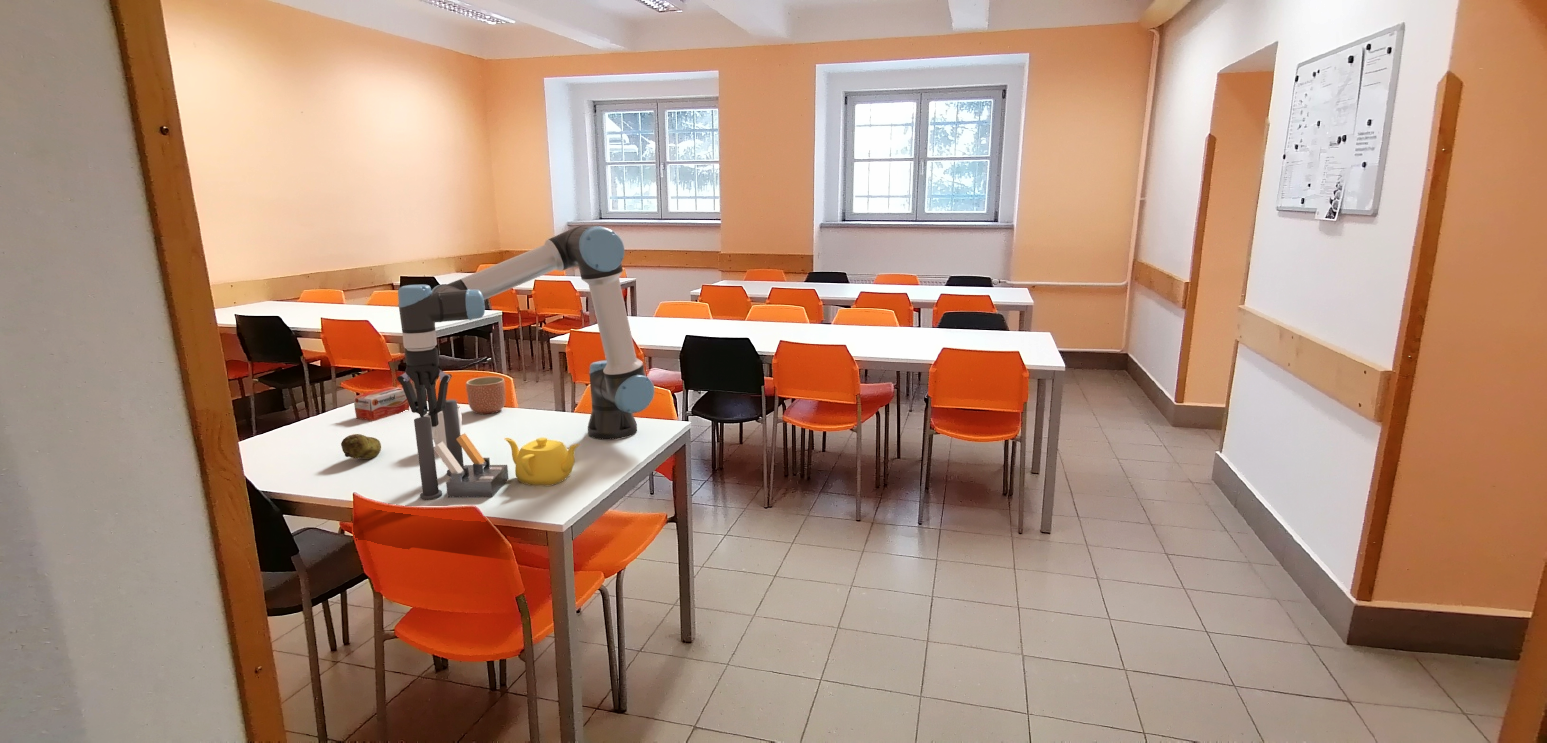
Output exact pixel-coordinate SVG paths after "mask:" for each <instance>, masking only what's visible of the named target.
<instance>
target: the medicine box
mask: <svg viewBox="0 0 1547 743" xmlns="http://www.w3.org/2000/svg"><path fill="white" fill-rule="evenodd" d="M353 405H354V412H355V418H356V419H357V420H365V421H369V422H375V421H378V420H382V419H385V418H388V417H391V416H395V415H397V414H402V413H404V412H403V411H405V410H408V411H410V406H409V403H408V401H407V398H406V395H405V393H404V390H403V387H397V386H388V387H383V388H379V389H376V390H373V391H368V392H365V393H362V394H359V395H358V394H357V395H355V396H353ZM401 412H402V413H401ZM405 412H406V411H405Z"/></svg>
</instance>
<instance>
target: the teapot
mask: <svg viewBox="0 0 1547 743" xmlns="http://www.w3.org/2000/svg"><path fill="white" fill-rule="evenodd" d="M504 440H505V441H506V442H507V443H508V444H509V445H510V449H511V456H512V461H513V463H514V465H515V468H514V469H515V471H514V473H515V477H516V479H517V480H518V481H519V482H520V484H521V483H522V484H524V483H525V485H529V484H530V486H538V485H548V486H553V485H552V484H555V485H557V484H556V483H558V484H560V483H562V482H563V481H564V480H566V479H567V478H568V477H570V475H571V473H572V470H573V467H574V465H575V451H576V449H577V447H579V446H580V443H577V444H576V443H575V444H572V445H570V446H569V448H567V447H566V445H565V444H564V442H562V441H559V440H554V439H548V438H547V437H539V438H536V439H535V440H532V441H529V442H528V443H526V444H524V445H523V446H521V447H520V449H519V446H518V444H517V442H516V440H514V439H512V438H508V437H504ZM565 478H566V479H565ZM562 480H563V481H562ZM559 482H560V483H559Z"/></svg>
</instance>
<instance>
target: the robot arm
mask: <svg viewBox="0 0 1547 743" xmlns="http://www.w3.org/2000/svg"><path fill="white" fill-rule="evenodd" d="M625 253H626V252H625V245H624V243H623V240H622V239H621V237H620V236H619V235H618V234H617V232H615V231H614V230H612V229H610V228H607V227H605V226H600V225H596V226H595V225H578V226H575V227H572V228H570V229H568V230H565V231H563V232H561V233H559V234H557V235H555V236H552V237H551V238H547V239H546V240H545V241H544V244H543V245H540V246H538V247H536V248H533V249H531V250H528V251H526V252H524V253H521V254H518V255H516V256H513V257H511V258H508V259H506V260H504V261H501V262H498V263H497V264H494V265H491V266H488V267H486V268H483V269H481V270H479V271H477V272H473V273H471V274H469V275H467V276H464V277H462V278H459V279H458V280H455V281H452V282H449V283H442V284H438V285H436V286H434V287H433V288H431V286H430V285H428V284H408V285H407V284H406V285H403V286H400V287H399V289H398V290H397V297H398V299H397V300H398V310H399V316H400V317H399V319H400V325H401V333H402V342H403V348H404V350H405V351H404V357H405V358H404V359H405V364H406V368H405V370H404V371H405V372H403V374H401V375H398V376H397V377H396V380H397V382H398V383H399V384H400V385H401V386H402V387H401V388H403V390H404V393H405V395H406V398H407V401H408V403H409V409H410V411H411V412H412V414H414V413H415V414H418V415H419V417H430V421H431V429H432V438H433V440H434V439H435V438H436V437H437V434H436V426H437V425H438V424H439V422H438V412H441V411H442V410H444V409H445V403H446V400H447V395H448V388H449V383H450V381H451V379H452V374H451V373H446V372H444V371H443V370H442V367H441V365H440V357H439V348H438V347H436V346H437V345H438V341H437V333H436V323H443V322H454V321H466V320H469V321H471V320H476V319H477V320H478V319H481V318H483V317H484V316H485V312H486V305H485V300H488V299H489V298H491V297H494V296H495V297H496V296H497V295H500V294H502V293H504V292H506V291H509V290H511V289H513V288H515V287H518V286H520V285H523V284H525V283H528V282H531V281H532V280H533V281H534V280H535V279H537V278H540V277H541V276H544V275H547V274H549V273H552V272H553V271H559V272H563V271H565V270H568V269H572V268H578V271H579V274H580V279H581V280H582V281H583V282H585V283H587V285H588V288H589V292H590V297H591V300H592V306H593V308H594V313H595V318H596V322H597V327H598V331H599V335H600V339H601V343H602V348H603V353H604V357H605V360H599V361H593V362H592V363H590V365H589V373H588V375H589V383H590V384H589V385H590V397H591V398H590V399H591V400H590V401H591V413H590V417H589V421H588V424H587V435H588V436H589V437H590V438H592V439H596V440H604V441H605V440H606V441H607V440H617V439H623V438H629V437H631V436H633V435H635V434H636V433H637V432H638V424H637V421H636V418H635V416H634V414H636V413H640V412H643V411H644V410H646V408H648V407H649V406H650V404H651V403H652V401H653V399H654V397H655V385H654V383H653V381H652V380H651V379H650V377H648V376H647V375H646V370H645V367H644V362H643V361H642V360H641V359H639V358H637V354H636V350H635V345H634V341H633V336H632V331H631V326H630V323H629V318H628V313H627V310H626V304H625V300H624V296H623V291H622V285H621V282H620V277H621V276H622V274H623V273H624V270H623V264H622V262H623V260H624V259H625ZM438 379H439V381H440V382H439V385H438V386H439V387H438V393H437V388H436V385H437V380H438ZM411 381H412V382H413V384H414V387H413V384H412V382H411ZM414 389H415V390H414ZM415 391H416V392H415ZM428 411H429V413H428Z"/></svg>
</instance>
